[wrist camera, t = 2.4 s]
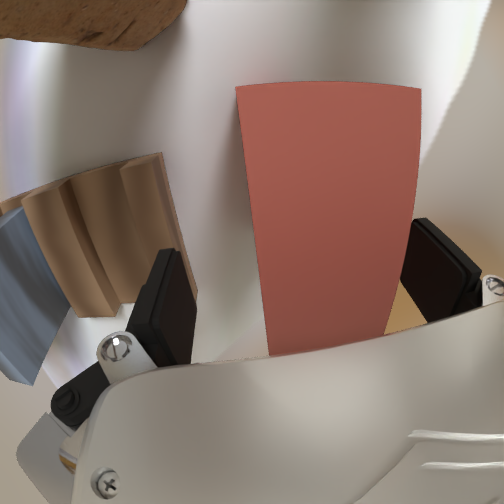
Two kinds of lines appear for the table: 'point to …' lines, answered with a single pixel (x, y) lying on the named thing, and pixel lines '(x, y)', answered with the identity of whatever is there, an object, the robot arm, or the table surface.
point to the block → (88, 21)
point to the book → (329, 204)
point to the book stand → (79, 253)
